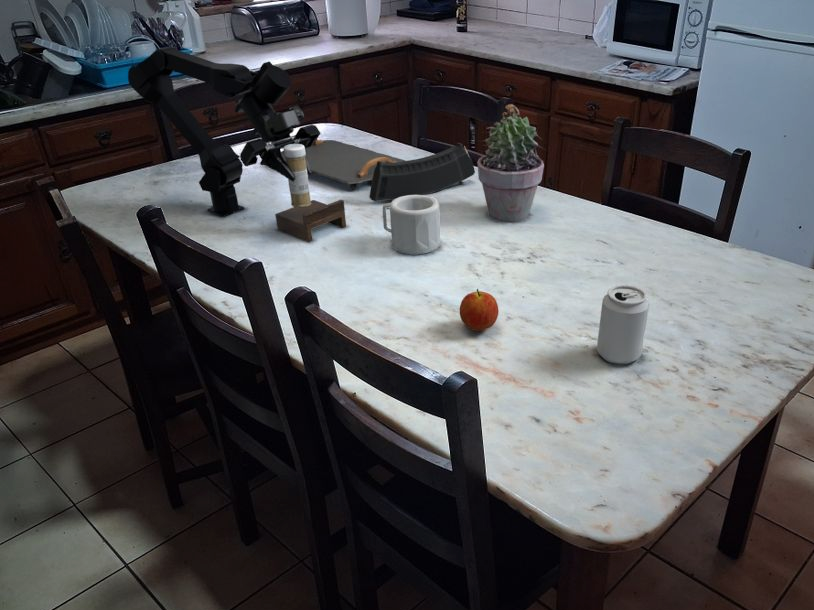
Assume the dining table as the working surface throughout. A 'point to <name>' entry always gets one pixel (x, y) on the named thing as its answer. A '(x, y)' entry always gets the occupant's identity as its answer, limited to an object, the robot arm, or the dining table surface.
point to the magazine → (421, 174)
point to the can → (622, 324)
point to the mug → (414, 224)
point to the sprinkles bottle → (298, 175)
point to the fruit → (479, 310)
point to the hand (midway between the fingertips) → (301, 177)
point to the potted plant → (510, 168)
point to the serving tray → (344, 161)
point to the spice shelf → (310, 218)
